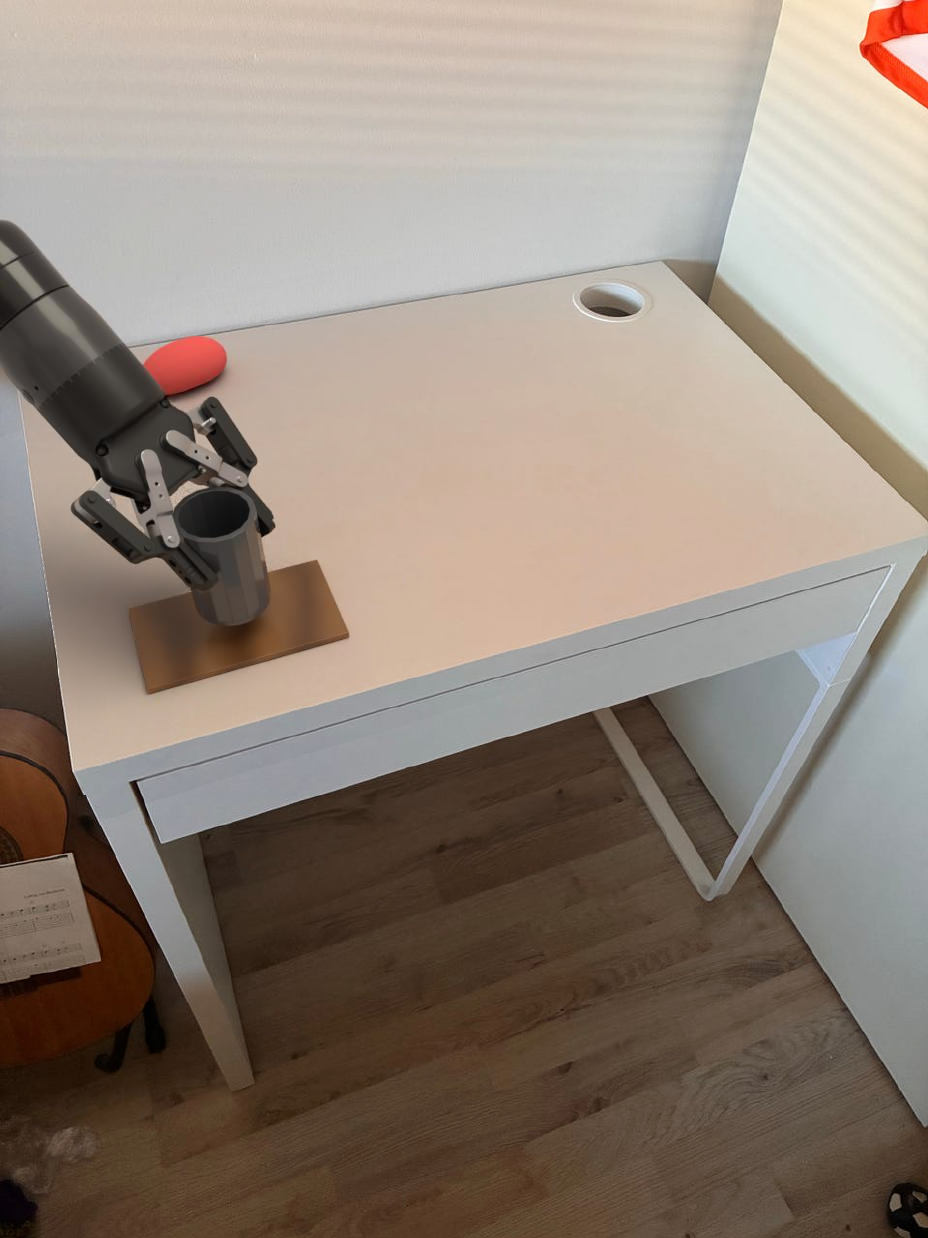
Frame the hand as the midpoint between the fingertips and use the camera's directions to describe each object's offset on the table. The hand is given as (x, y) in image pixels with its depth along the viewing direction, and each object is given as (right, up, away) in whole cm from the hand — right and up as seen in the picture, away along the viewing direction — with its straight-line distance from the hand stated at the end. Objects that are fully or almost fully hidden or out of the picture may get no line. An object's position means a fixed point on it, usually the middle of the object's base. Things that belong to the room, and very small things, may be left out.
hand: (240, 558), depth 71 cm
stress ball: (-12, +20, +29) cm, 37 cm away
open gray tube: (-2, -3, +4) cm, 6 cm away
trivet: (-2, -5, +7) cm, 9 cm away
